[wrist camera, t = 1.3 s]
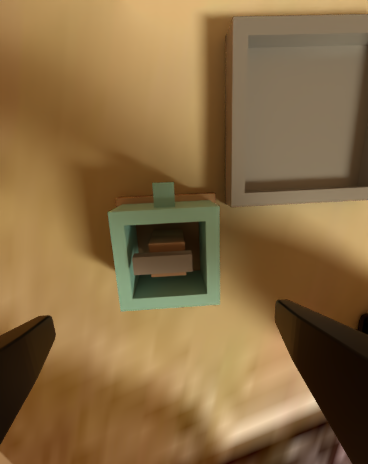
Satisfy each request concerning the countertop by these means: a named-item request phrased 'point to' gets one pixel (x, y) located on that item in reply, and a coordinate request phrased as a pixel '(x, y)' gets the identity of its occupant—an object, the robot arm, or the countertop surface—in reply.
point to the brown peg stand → (167, 242)
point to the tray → (296, 109)
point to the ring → (167, 287)
